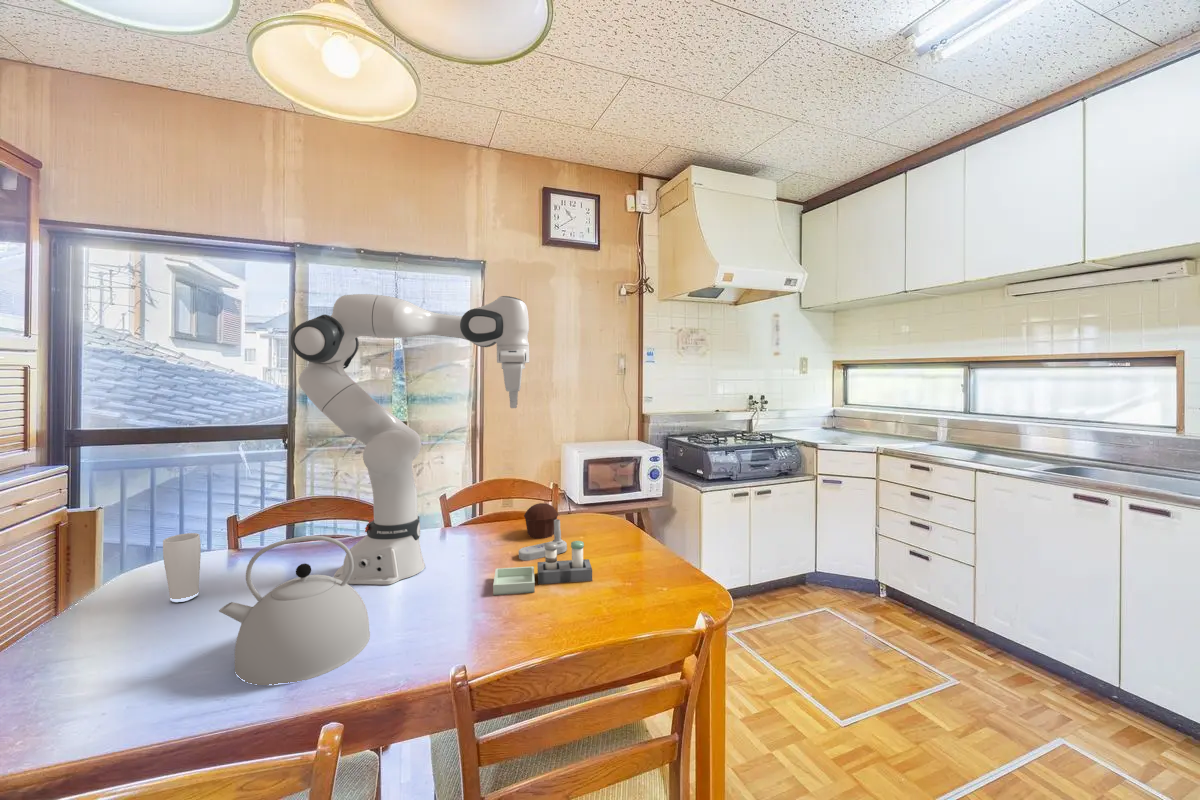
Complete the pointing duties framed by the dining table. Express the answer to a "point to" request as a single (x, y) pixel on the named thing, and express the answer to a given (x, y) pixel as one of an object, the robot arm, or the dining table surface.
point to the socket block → (564, 573)
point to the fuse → (577, 554)
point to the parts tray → (514, 580)
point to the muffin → (540, 520)
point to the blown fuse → (551, 556)
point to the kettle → (299, 625)
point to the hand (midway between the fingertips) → (513, 406)
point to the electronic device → (543, 546)
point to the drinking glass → (182, 564)
